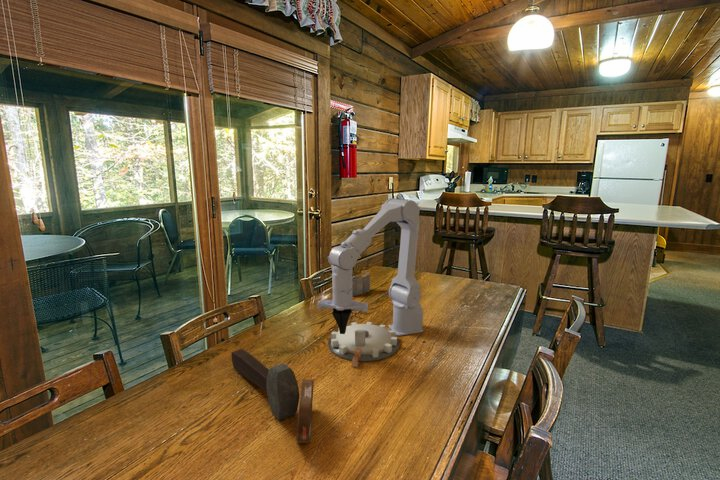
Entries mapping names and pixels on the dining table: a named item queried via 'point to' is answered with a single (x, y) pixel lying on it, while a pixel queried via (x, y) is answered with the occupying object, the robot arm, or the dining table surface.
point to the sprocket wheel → (364, 339)
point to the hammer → (270, 383)
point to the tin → (305, 412)
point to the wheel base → (363, 358)
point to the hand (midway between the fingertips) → (342, 332)
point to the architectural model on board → (361, 284)
